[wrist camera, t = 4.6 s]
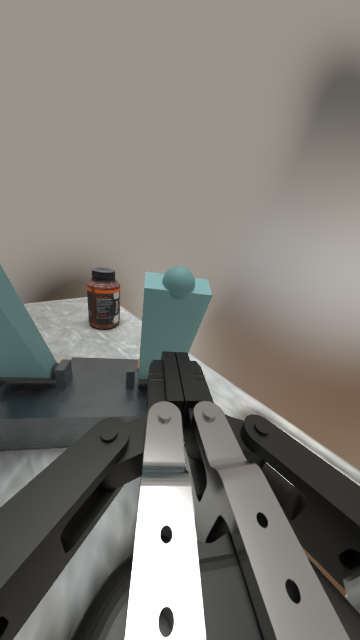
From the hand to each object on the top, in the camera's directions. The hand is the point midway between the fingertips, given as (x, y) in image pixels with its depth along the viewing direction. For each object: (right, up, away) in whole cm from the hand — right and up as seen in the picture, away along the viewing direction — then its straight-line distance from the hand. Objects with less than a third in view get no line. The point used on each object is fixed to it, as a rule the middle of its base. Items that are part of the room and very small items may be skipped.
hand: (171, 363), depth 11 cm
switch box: (-9, -8, +10) cm, 15 cm away
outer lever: (-2, -3, +9) cm, 9 cm away
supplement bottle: (-15, +2, +28) cm, 32 cm away
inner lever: (-14, -2, +6) cm, 15 cm away
